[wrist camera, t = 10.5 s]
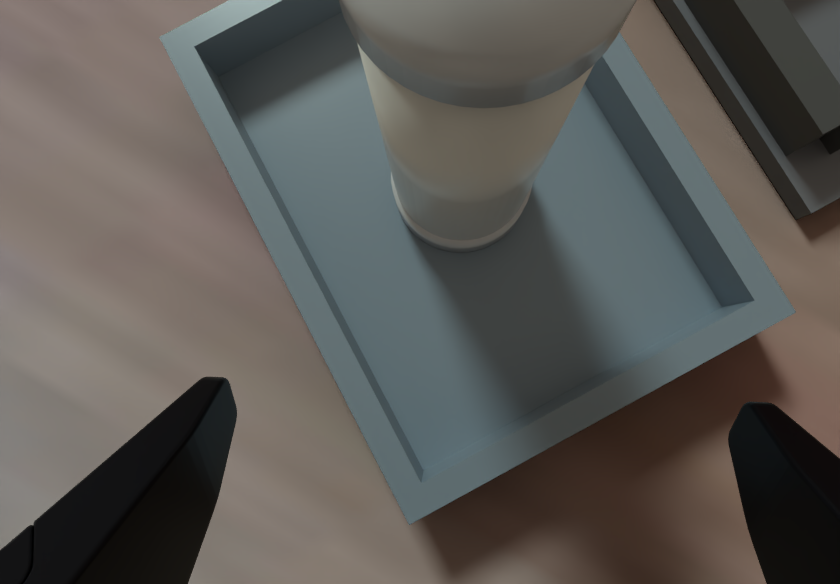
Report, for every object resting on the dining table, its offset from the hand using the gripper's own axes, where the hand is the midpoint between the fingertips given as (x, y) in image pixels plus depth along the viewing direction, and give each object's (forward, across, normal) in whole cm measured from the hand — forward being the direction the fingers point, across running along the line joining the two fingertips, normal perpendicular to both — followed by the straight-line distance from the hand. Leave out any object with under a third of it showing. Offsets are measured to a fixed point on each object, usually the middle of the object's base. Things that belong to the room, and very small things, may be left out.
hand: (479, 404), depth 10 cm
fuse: (+10, 0, +1) cm, 10 cm away
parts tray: (+10, 0, +1) cm, 10 cm away
